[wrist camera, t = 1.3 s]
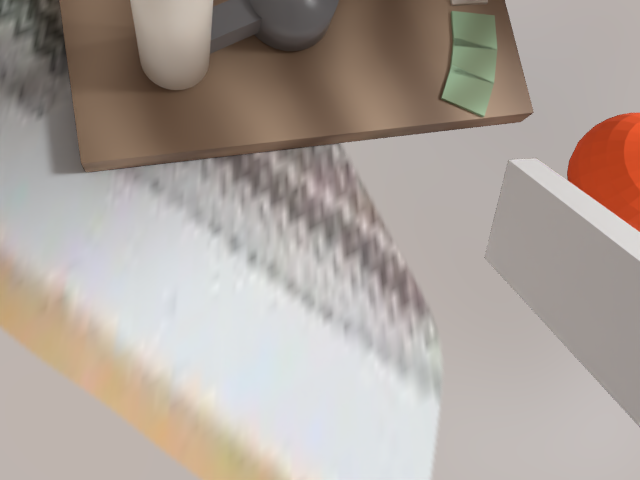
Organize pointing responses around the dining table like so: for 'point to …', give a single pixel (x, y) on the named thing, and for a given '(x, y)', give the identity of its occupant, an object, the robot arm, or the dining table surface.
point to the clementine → (611, 166)
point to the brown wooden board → (295, 83)
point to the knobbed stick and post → (219, 32)
